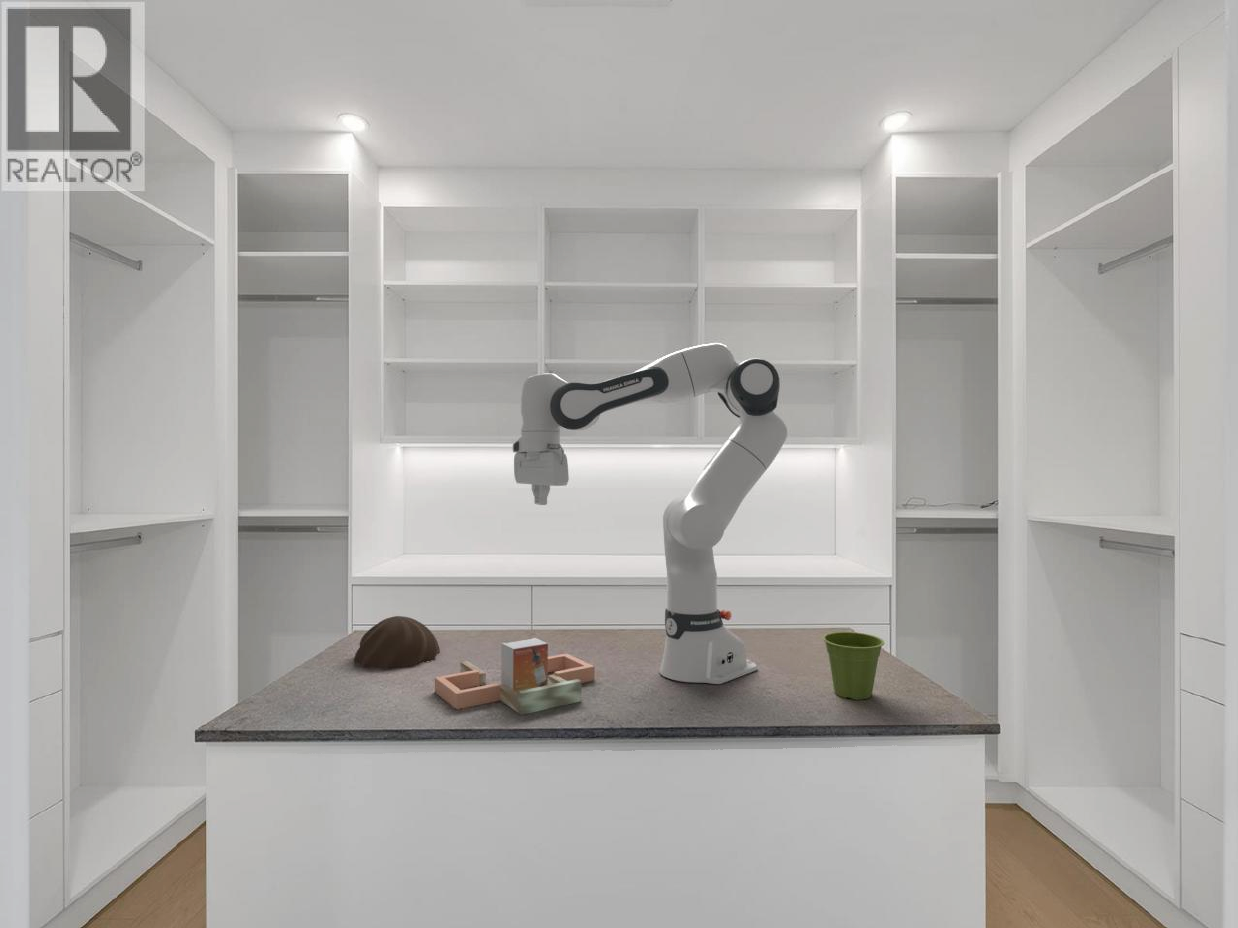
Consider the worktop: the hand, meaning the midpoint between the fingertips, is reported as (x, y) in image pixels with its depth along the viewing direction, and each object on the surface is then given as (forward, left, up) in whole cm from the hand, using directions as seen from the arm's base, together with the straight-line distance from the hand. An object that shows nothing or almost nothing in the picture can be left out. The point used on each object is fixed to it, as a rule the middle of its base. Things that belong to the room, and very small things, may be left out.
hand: (540, 504), depth 161 cm
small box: (+12, +16, -37) cm, 42 cm away
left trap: (+21, +10, -37) cm, 44 cm away
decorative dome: (+25, -26, -38) cm, 52 cm away
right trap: (+1, +10, -37) cm, 38 cm away
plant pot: (-43, +53, -37) cm, 78 cm away
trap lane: (+11, +9, -37) cm, 40 cm away
